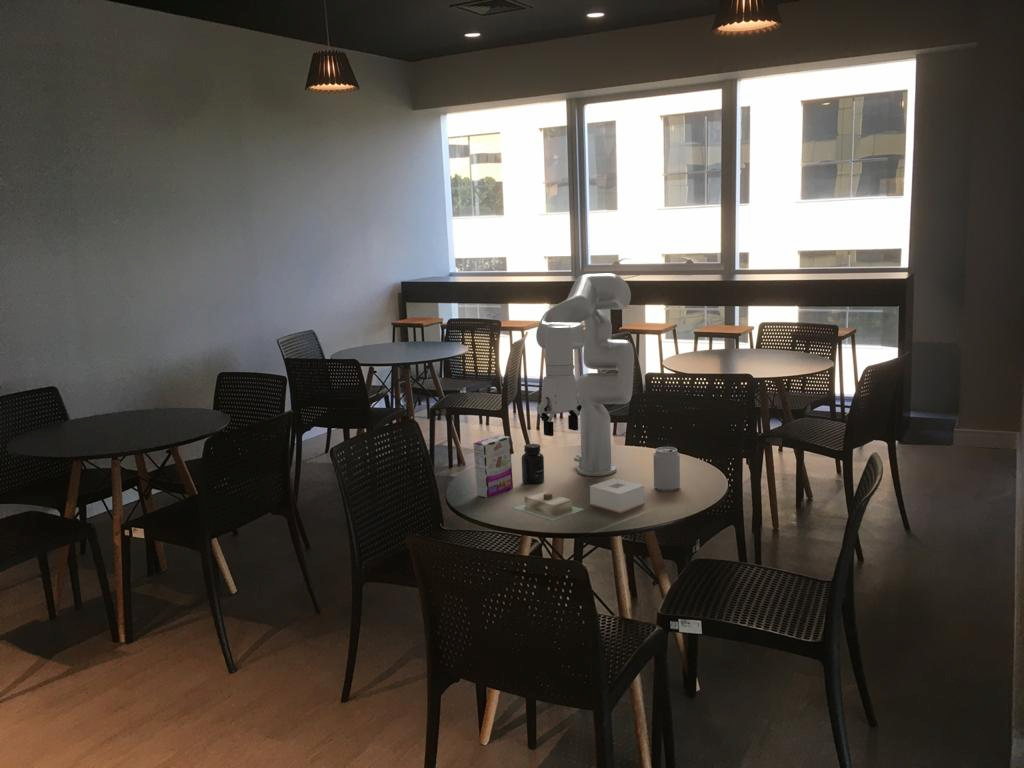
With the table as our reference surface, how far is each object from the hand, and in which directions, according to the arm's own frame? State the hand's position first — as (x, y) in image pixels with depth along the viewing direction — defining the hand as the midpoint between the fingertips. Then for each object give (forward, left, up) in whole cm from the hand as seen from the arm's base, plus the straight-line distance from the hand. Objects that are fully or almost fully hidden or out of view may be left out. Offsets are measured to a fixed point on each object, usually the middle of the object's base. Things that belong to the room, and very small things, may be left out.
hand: (561, 432), depth 230 cm
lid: (-2, -5, -21) cm, 21 cm away
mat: (-2, -5, -22) cm, 22 cm away
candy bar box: (-26, -4, -22) cm, 34 cm away
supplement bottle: (-24, +10, -22) cm, 34 cm away
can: (+10, +32, -22) cm, 41 cm away
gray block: (+10, +10, -22) cm, 26 cm away
